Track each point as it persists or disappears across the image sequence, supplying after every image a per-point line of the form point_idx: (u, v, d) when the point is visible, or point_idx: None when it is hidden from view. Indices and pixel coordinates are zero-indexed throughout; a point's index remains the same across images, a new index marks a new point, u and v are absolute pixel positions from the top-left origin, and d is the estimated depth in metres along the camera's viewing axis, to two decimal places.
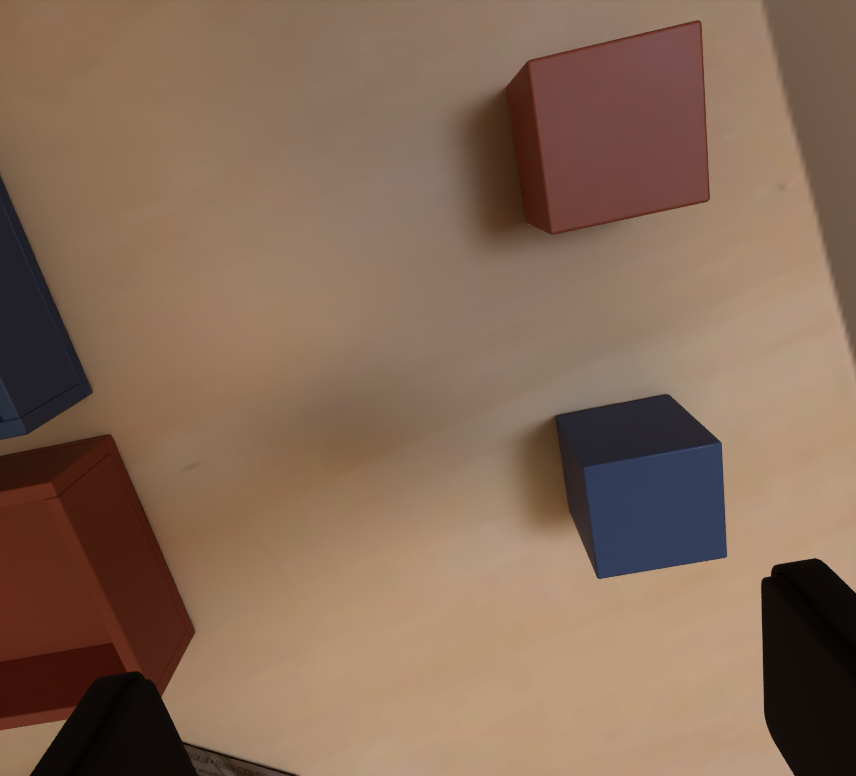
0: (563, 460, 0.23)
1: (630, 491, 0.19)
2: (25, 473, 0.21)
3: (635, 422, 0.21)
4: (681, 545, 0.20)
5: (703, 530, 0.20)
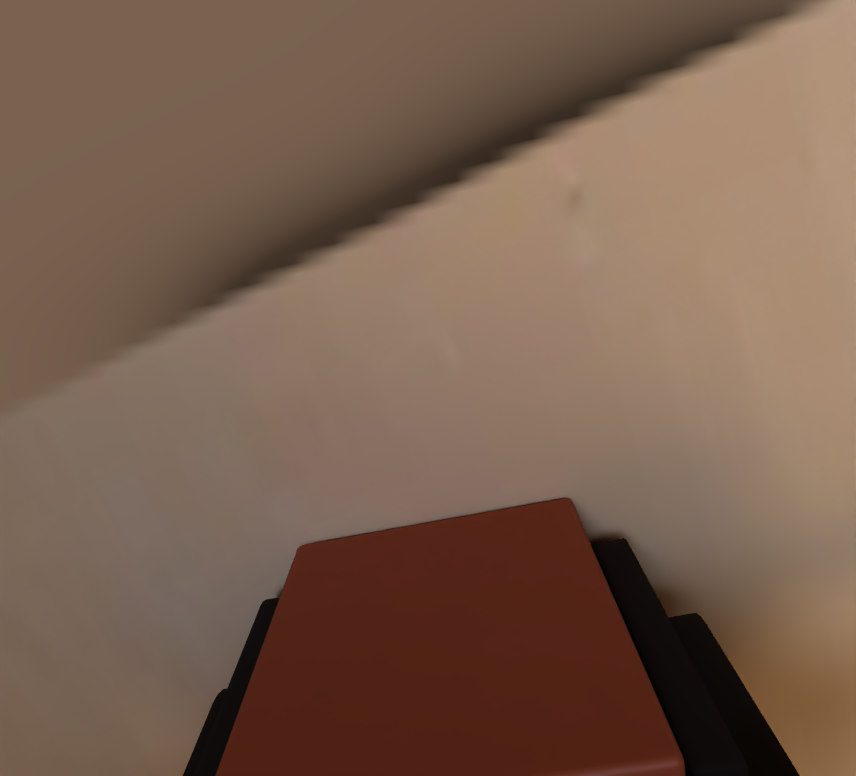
0: None
1: None
2: None
3: None
4: None
5: None
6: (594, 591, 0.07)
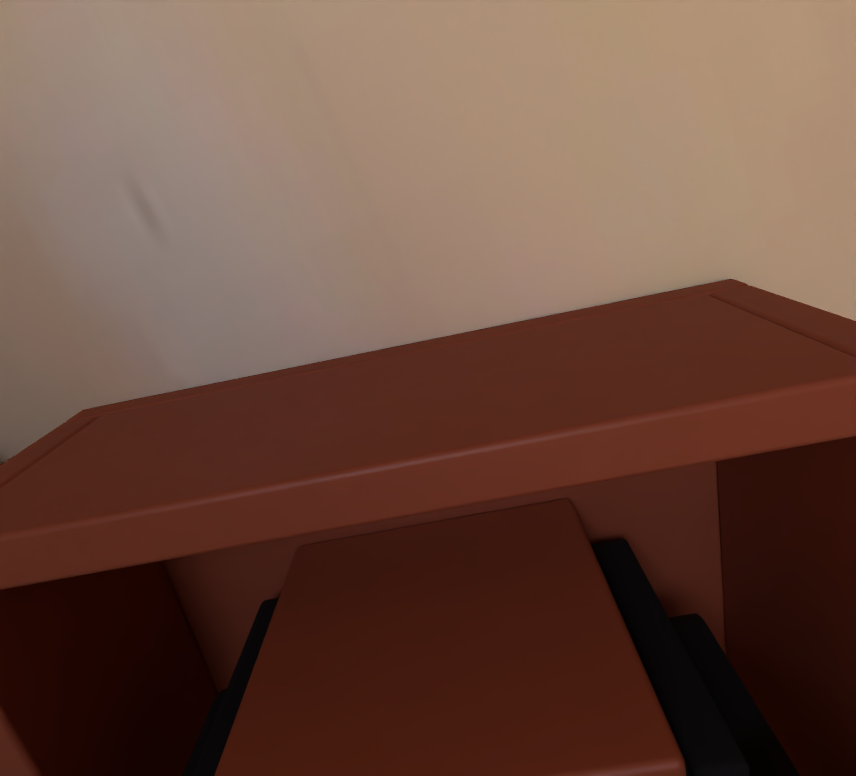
0: None
1: None
2: None
3: None
4: None
5: None
6: (594, 592, 0.07)
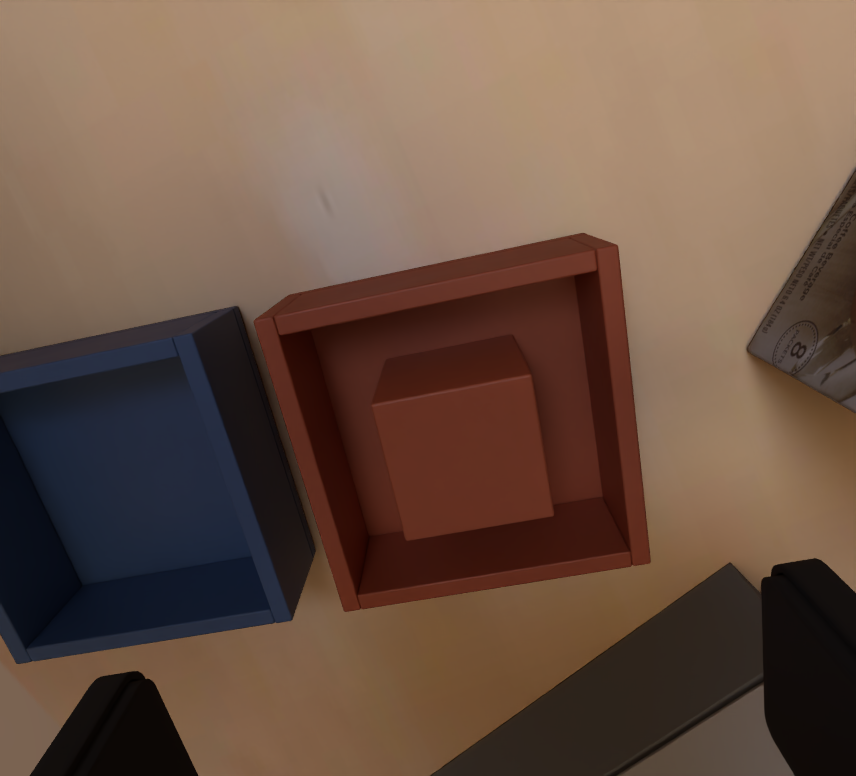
0: None
1: None
2: None
3: None
4: None
5: None
6: (514, 352, 0.18)
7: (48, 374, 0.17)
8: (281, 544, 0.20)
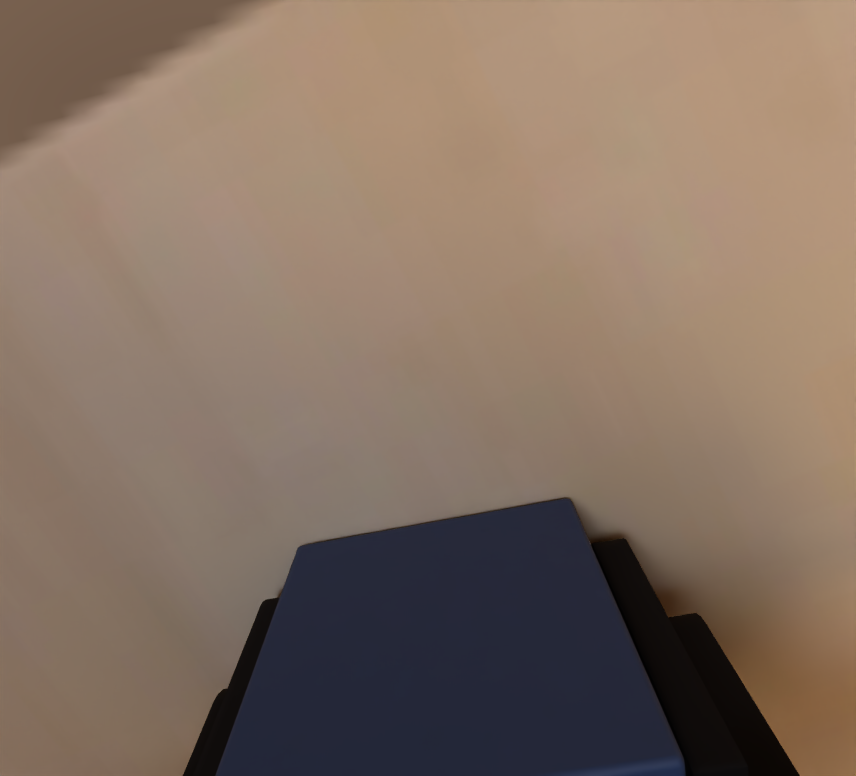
0: None
1: None
2: None
3: None
4: None
5: None
6: None
7: None
8: None
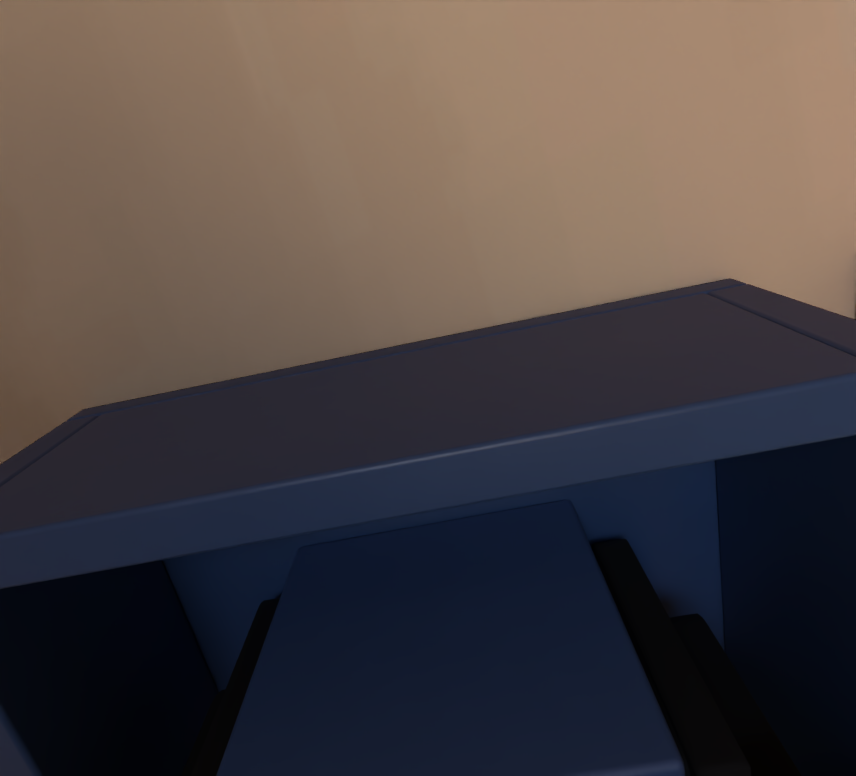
0: None
1: None
2: None
3: None
4: None
5: None
6: None
7: (432, 487, 0.05)
8: None
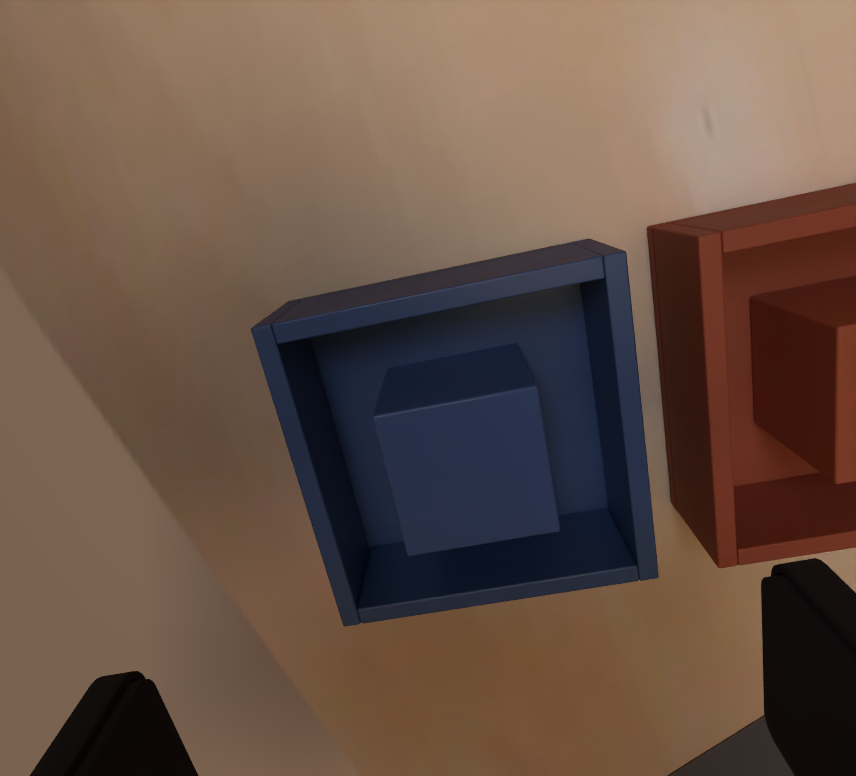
0: None
1: (437, 507, 0.17)
2: (682, 298, 0.17)
3: None
4: (515, 443, 0.16)
5: (493, 421, 0.16)
6: None
7: (455, 298, 0.16)
8: None
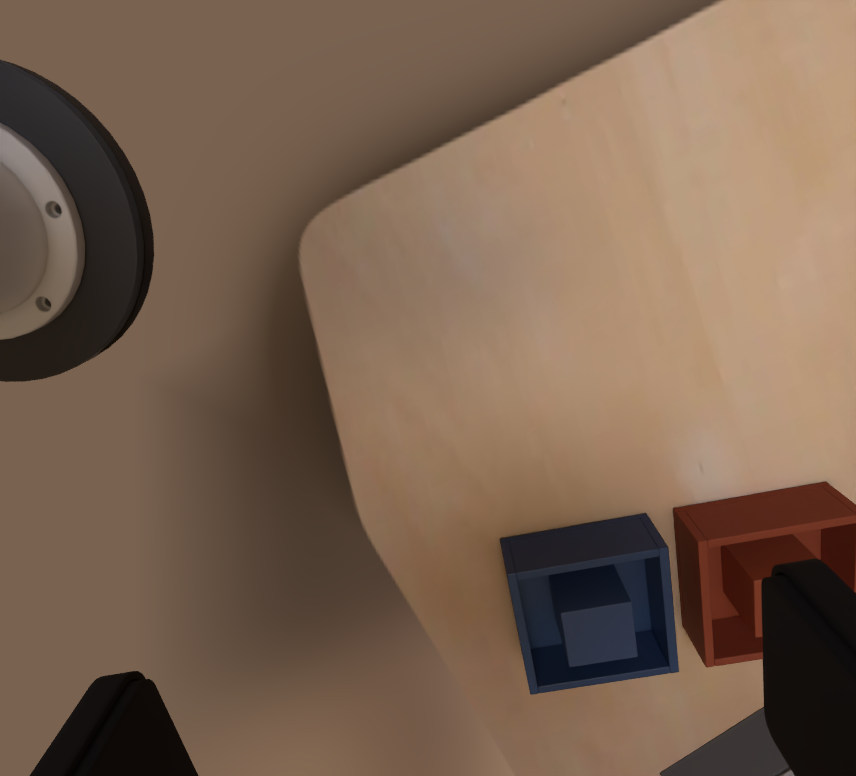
0: None
1: (585, 648, 0.38)
2: (690, 554, 0.38)
3: (556, 609, 0.40)
4: (620, 623, 0.37)
5: (612, 615, 0.37)
6: (803, 547, 0.38)
7: (595, 563, 0.37)
8: None
